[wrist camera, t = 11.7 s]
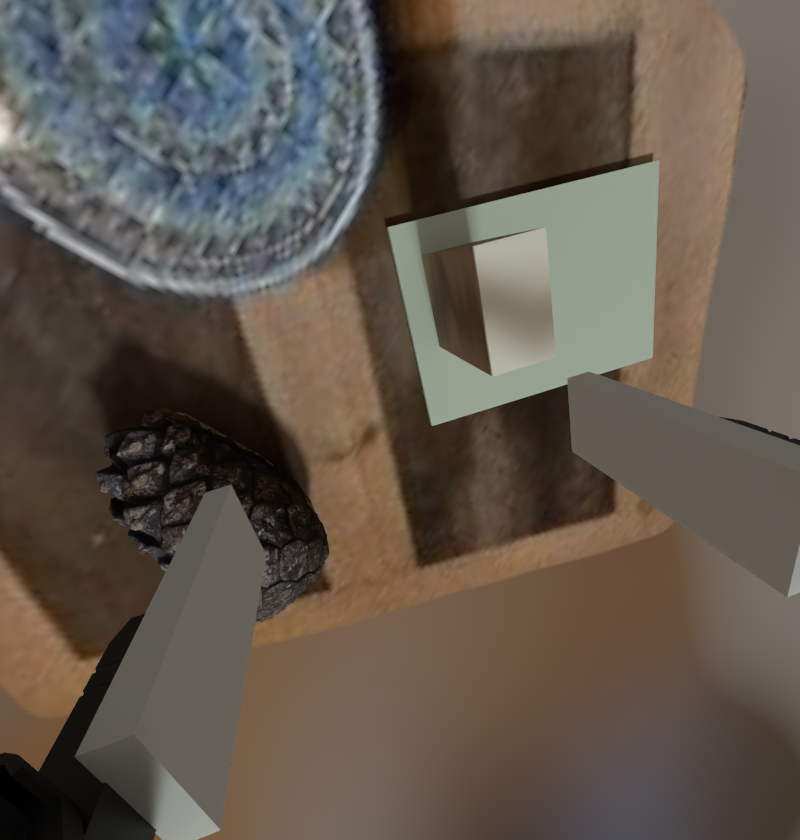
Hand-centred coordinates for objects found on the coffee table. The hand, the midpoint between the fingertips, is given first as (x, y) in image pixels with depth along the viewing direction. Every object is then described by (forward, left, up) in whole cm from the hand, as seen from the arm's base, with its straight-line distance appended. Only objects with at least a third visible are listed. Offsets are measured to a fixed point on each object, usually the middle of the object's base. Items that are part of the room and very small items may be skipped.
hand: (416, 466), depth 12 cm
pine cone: (+8, -14, -20) cm, 26 cm away
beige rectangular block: (-2, +9, -19) cm, 21 cm away
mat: (0, +16, -20) cm, 25 cm away
